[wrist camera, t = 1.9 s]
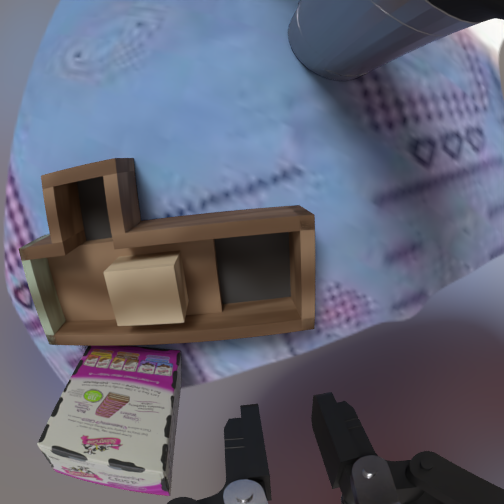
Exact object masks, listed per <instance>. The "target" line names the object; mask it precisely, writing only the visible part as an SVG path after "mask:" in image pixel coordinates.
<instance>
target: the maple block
mask: <svg viewBox="0 0 504 504" xmlns="http://www.w3.org/2000/svg"><path fill="white" fill-rule="evenodd" d="M104 277H105V281H106V285H107V289H108V293H109V296H110V300H111V304H112V307H113V311H114V314H115V318H116V321H117V325H118V326H132V325H153V324H170V323H184V321H185V316H186V311H187V307H188V302H189V300H188V294H187V288H186V282H185V276H184V270H183V263H182V257H181V250H179V251H169V252H159V253H150V254H140V255H131V256H121V257H118V258H117V259H116V260H115V261H114V262H113V263H112V264H111V265H110V266H109V267H108V268H107V269H106V270H105V271H104Z"/></svg>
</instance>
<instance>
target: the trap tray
mask: <svg viewBox="0 0 504 504" xmlns="http://www.w3.org/2000/svg"><path fill="white" fill-rule="evenodd" d="M41 180H42V188H43V196H44V202H45V209H46V215H47V221H48V226H49V231H50V234H49V235H44V236H42V237H40V238H38V239H36V240H34V241H32V242H30V243H28V244H26V245H25V246H23V247H21V248H19V252H20V256H21V260H22V264H23V268H24V272H25V275H26V279H27V282H28V286H29V289H30V292H31V295H32V298H33V301H34V304H35V307H36V310H37V313H38V316H39V319H40V321H41V324H42V327H43V329H44V332H45V334H46V337H47V339H48V342H49V344H51V345H91V346H111V345H152V344H174V343H190V342H204V341H216V340H228V339H238V338H248V337H257V336H265V335H273V334H281V333H289V332H296V331H303V330H310V329H314V323H315V218H314V214H312V213H311V212H309V211H308V210H306V209H304V208H303V207H301V206H300V205H296V206H283V207H270V208H258V209H246V210H236V211H225V212H215V213H205V214H196V215H187V216H178V217H169V218H161V219H152V220H144V221H141V217H140V210H139V202H138V194H137V186H136V178H135V168H134V158H114V159H109V160H104V161H99V162H95V163H90V164H85V165H81V166H77V167H73V168H69V169H64V170H61V171H57V172H53V173H49V174H45V175H42V176H41ZM179 250H181V257H182V263H183V270H184V276H185V282H186V288H187V294H188V300H189V302H188V307H187V311H186V316H185V321H184V323H170V324H153V325H132V326H118V325H117V321H116V318H115V314H114V311H113V307H112V304H111V300H110V296H109V293H108V289H107V285H106V281H105V277H104V271H105V270H106V269H107V268H108V267H109V266H110V265H111V264H112V263H113V262H114V261H115V260H116V259H117V258H118V257H121V256H131V255H140V254H150V253H159V252H169V251H179Z"/></svg>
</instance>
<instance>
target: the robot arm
mask: <svg viewBox="0 0 504 504" xmlns="http://www.w3.org/2000/svg"><path fill="white" fill-rule="evenodd" d="M298 4H299V6H298V8H297V10H296V12H295V14H294V16H293V17H292V20H291V22H290V24H289V29H288V37H289V42H290V45H291V48H292V50H293V52H294V53H295V55H296V57H297V58H298V59H299V60H300V61H301V62H302V63H303V64H304V65H305V66H306V67H307V68H309V69H310V70H311V71H313V72H315V73H316V74H318V75H320V76H323V77H325V78H328V79H333V80H338V81H343V80H352V79H356V78H358V77H360V76H362V75H365V74H367V73H368V72H370V71H371V70H373V69H375V68H378V67H380V66H382V65H384V64H386V63H388V62H390V61H392V60H394V59H396V58H398V57H400V56H402V55H404V54H406V53H409V52H411V51H413V50H415V49H417V48H419V47H422V46H424V45H426V44H428V43H431V42H433V41H435V40H438V39H440V38H442V37H445V36H447V35H450V34H452V33H454V32H457V31H460V30H462V29H465V28H467V27H470V26H473V25H475V24H478V23H481V22H484V21H487V20H490V19H494V18H498V19H504V0H300V1H299V3H298ZM240 407H241V418H233V419H229V420H228V422H227V424H226V426H225V428H224V439H225V463H226V483H225V485H224V487H223V489H222V490H221V491H220V492H219V493H218V494H215V495H213V496H211V497H207V498H204V499H201V500H197V501H196V500H194V499H192V498H188V497H179V498H175V499H173V500H171V501H169V502H168V503H167V504H268V502H267V501H268V500H271V489H270V488H271V487H270V475H269V469H268V463H267V457H266V451H265V445H264V439H263V432H262V426H261V420H260V414H259V407H258V404H251V405H241V406H240ZM312 427H313V431H314V434H315V437H316V440H317V443H318V446H319V449H320V452H321V455H322V458H323V461H324V465H325V467H326V471H327V474H328V477H329V480H330V483H331V486H332V489H334V488H338V487H340V489H341V492H342V496H341V504H504V489H502V488H500V487H497V486H495V485H494V484H491V483H489V482H488V481H486V480H484V479H482V478H480V477H478V476H476V475H474V474H472V473H470V472H468V471H467V470H465V469H462V468H461V467H459V466H457V465H455V464H453V463H452V462H450V461H448V460H447V459H445V458H443V457H441V456H439V455H438V454H436V453H434V452H430V451H424V452H420V453H418V454H416V455H415V456H414V457H413V458H412V460H406V461H387V460H384V459H382V458H381V457H379V456H378V455H377V454H376V453H375V451H374V449H373V447H372V445H371V443H370V441H369V439H368V437H367V435H366V433H365V431H364V428H363V427H362V425H361V422H360V420H359V419H358V416H357V414H356V412H355V410H354V408H353V407H352V406H350V405H349V404H348V403H347V402H345V401H343V402H339V403H337V402H336V400H335V398H334V396H333V394H332V392H329V393H324V394H319V395H314V397H313V406H312Z"/></svg>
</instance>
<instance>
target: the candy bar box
mask: <svg viewBox="0 0 504 504" xmlns="http://www.w3.org/2000/svg"><path fill="white" fill-rule="evenodd" d="M180 390H181V352H180V351H179V350H169V349H156V348H145V347H134V346H125V345H111V346H91V345H89V346H88V348H87V349H86V351H85V353H84V355H83V356H82V358H81V360H80V362H79V363H78V365H77V367H76V369H75V371H74V372H73V374H72V376H71V378H70V379H69V382H68V384H67V386H66V388H65V389H64V391H63V393H62V395H61V397H60V398H59V401H58V402H57V404H56V406H55V408H54V410H53V412H52V415H51V417H50V419H49V420H48V423H47V425H46V427H45V429H44V431H43V433H42V435H41V437H40V439H39V442H38V444H37V445H38V447H39V448H40V450H41V451H42V452H43V454H44V455H45V457H46V459H47V460H48V461H49V463H50V464H52V465H51V466H52V468H53V469H54V470H55V471H56V472H58V473H61V474H65V475H68V476H71V477H74V478H77V479H81V480H84V481H88V482H92V483H96V484H100V485H104V486H109V487H114V488H118V489H124V490H129V491H136V492H141V493H148V494H156V495H165V496H170V493H171V482H172V465H173V455H174V445H175V434H176V425H177V416H178V407H179V398H180Z"/></svg>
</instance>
